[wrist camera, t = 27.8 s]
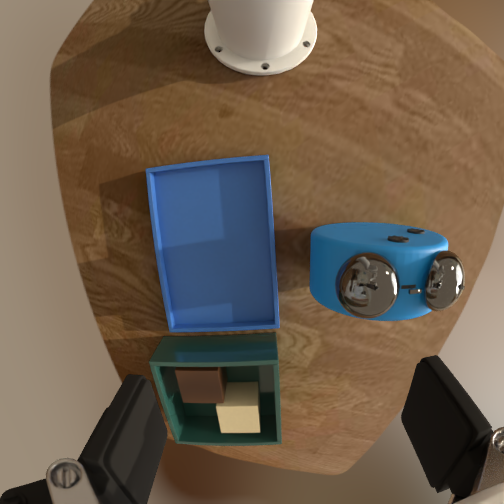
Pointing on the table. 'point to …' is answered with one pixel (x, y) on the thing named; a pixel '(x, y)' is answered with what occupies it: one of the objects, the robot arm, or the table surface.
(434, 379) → the robot arm
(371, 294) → the alarm clock
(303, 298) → the table surface
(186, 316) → the blue shallow tray
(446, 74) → the table surface
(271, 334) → the green storage bin
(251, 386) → the cream block
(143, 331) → the table surface
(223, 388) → the walnut block
